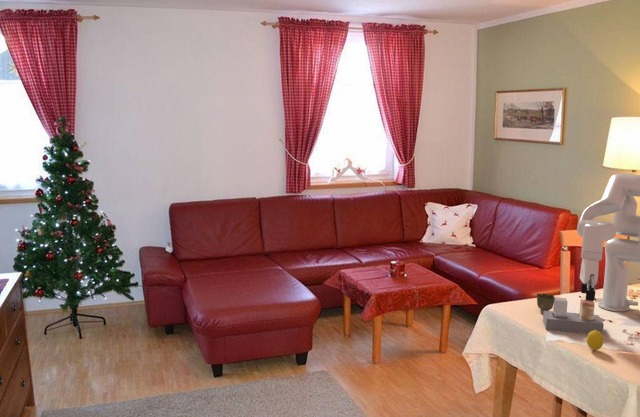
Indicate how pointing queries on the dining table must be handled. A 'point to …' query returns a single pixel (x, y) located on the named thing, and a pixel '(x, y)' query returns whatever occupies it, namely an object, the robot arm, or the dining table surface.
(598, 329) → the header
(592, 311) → the birch plug
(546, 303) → the cup
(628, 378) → the dining table surface
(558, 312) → the metal plug
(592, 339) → the lemon
